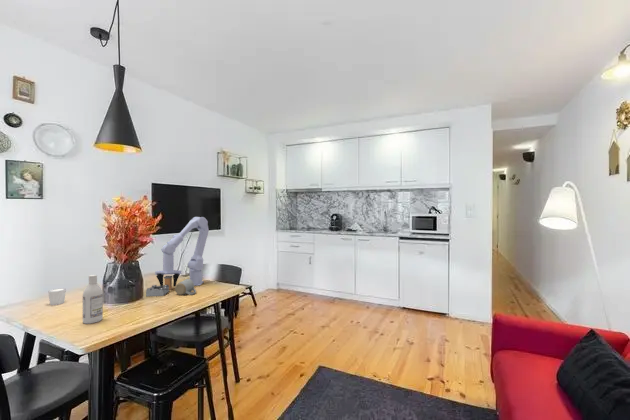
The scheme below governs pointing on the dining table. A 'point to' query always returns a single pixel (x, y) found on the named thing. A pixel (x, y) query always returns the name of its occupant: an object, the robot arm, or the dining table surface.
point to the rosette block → (157, 290)
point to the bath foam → (92, 301)
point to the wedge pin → (168, 281)
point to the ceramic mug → (185, 287)
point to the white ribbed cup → (57, 296)
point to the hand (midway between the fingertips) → (168, 286)
